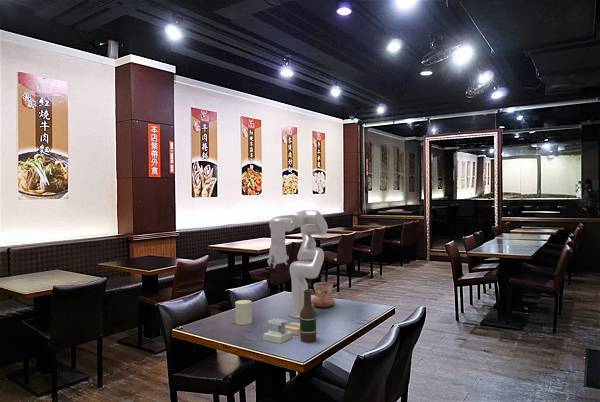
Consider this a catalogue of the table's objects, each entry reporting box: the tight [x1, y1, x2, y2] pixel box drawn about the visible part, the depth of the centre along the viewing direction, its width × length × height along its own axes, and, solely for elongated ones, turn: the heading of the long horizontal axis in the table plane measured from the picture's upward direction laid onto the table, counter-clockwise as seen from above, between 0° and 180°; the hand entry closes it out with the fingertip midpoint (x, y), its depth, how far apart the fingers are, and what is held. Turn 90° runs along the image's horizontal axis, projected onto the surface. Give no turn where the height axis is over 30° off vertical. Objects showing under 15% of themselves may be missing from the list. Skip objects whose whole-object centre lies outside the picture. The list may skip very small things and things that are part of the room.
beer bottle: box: [299, 289, 317, 343], centre depth 208 cm, size 8×8×24 cm
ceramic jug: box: [311, 281, 336, 309], centre depth 274 cm, size 18×14×14 cm
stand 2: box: [285, 321, 300, 337], centre depth 222 cm, size 10×10×3 cm
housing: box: [267, 317, 288, 335], centre depth 210 cm, size 5×8×6 cm, turn 55°
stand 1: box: [262, 331, 293, 345], centre depth 210 cm, size 10×10×3 cm
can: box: [234, 299, 253, 326], centre depth 240 cm, size 9×9×12 cm
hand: (278, 274), depth 230 cm, fingers open, 9 cm apart
